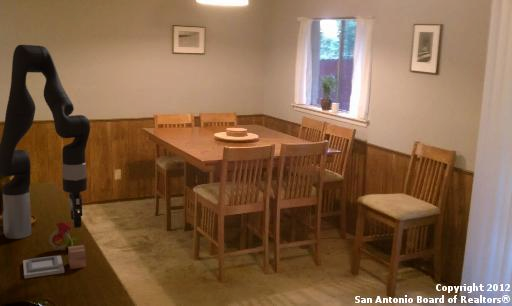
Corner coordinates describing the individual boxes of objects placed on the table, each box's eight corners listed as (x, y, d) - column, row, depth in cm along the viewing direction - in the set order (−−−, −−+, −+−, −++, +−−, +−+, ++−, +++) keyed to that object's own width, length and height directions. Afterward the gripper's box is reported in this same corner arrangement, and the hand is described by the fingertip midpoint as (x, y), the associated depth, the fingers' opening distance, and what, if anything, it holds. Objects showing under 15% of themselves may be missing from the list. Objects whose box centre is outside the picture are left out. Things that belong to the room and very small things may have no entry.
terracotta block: (68, 263, 175) (68, 246, 174) (83, 261, 177) (83, 245, 176) (70, 269, 170) (69, 252, 169) (85, 267, 173) (85, 250, 171)
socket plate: (23, 263, 173) (22, 258, 172) (60, 258, 178) (60, 253, 178) (24, 278, 162) (24, 272, 162) (64, 272, 167) (64, 267, 167)
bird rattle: (56, 259, 182) (81, 247, 184) (42, 233, 179) (66, 221, 181) (57, 252, 188) (80, 241, 190) (42, 227, 184) (67, 216, 186)
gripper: (60, 171, 172) (62, 217, 175) (64, 182, 159) (66, 231, 163) (83, 170, 175) (84, 215, 178) (89, 180, 163) (90, 228, 166)
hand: (76, 223), depth 171 cm, fingers open, 8 cm apart
